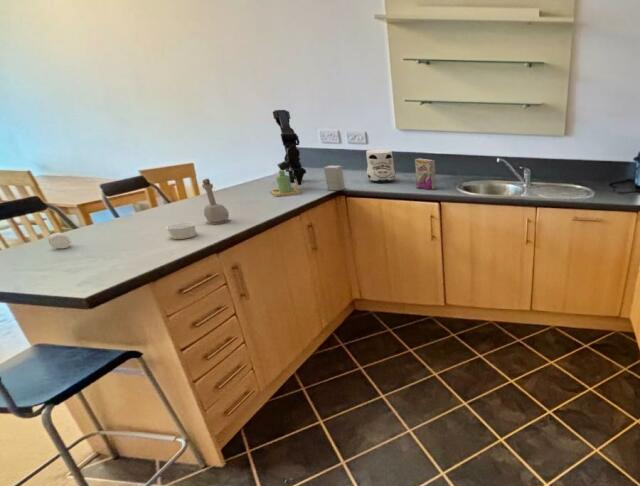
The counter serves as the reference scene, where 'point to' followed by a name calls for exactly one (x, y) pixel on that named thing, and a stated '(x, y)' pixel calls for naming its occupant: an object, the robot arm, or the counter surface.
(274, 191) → the tray
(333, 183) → the white packaging box
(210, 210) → the potion bottle
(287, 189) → the bottle
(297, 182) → the cap
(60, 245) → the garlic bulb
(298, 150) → the robot arm
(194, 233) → the ramekin
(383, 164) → the cream face block
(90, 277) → the counter surface
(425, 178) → the candy bar box
